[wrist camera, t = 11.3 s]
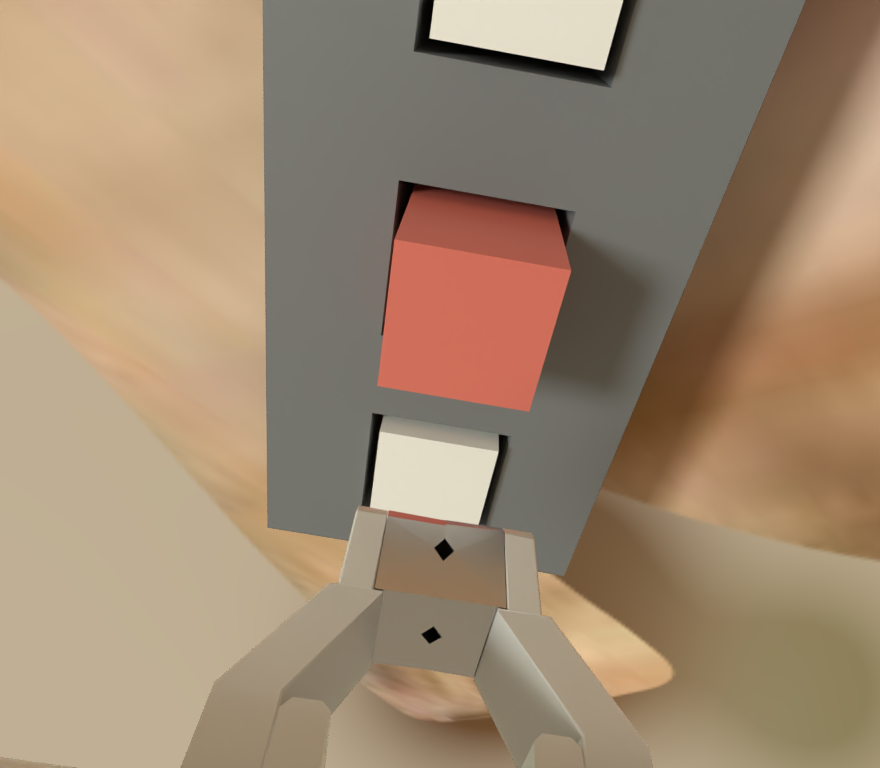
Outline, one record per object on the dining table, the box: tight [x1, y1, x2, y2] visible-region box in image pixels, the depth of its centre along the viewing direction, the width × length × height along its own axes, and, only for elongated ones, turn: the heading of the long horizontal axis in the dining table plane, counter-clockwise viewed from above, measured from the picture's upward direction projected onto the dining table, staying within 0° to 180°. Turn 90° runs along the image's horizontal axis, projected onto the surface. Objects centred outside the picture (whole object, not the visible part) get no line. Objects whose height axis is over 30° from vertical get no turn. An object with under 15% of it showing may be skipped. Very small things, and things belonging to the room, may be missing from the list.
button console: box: [263, 0, 806, 576], centre depth 21 cm, size 13×26×5 cm, turn 171°
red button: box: [377, 183, 571, 412], centre depth 18 cm, size 4×4×5 cm
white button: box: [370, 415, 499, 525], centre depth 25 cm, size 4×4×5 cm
